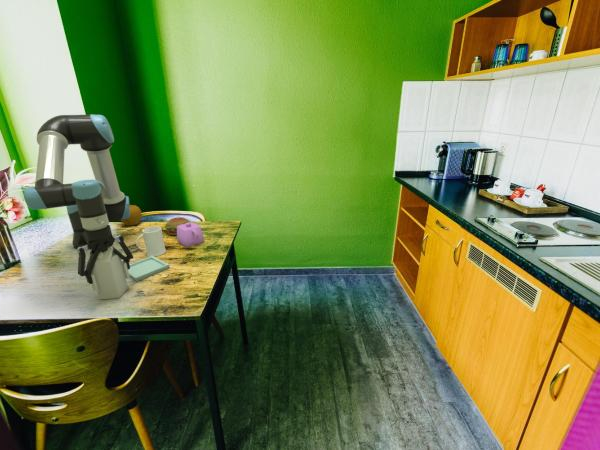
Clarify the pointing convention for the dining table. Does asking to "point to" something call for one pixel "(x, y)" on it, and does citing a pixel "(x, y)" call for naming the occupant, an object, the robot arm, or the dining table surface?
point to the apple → (133, 216)
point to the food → (175, 225)
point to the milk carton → (109, 275)
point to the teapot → (189, 234)
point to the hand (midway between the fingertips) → (112, 283)
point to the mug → (153, 241)
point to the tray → (146, 268)
